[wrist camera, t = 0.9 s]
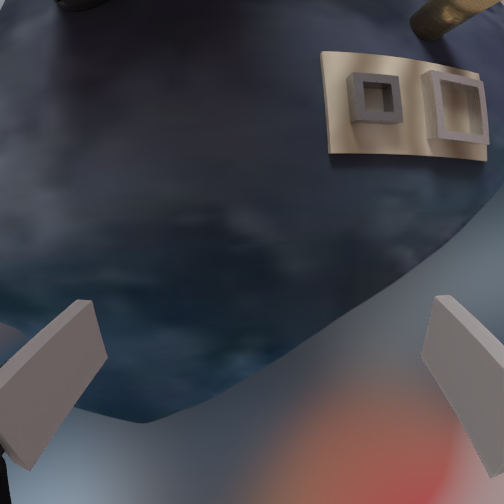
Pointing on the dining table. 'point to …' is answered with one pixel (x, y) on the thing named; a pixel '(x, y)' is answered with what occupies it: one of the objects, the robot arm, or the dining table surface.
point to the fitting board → (402, 107)
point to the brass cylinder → (445, 16)
